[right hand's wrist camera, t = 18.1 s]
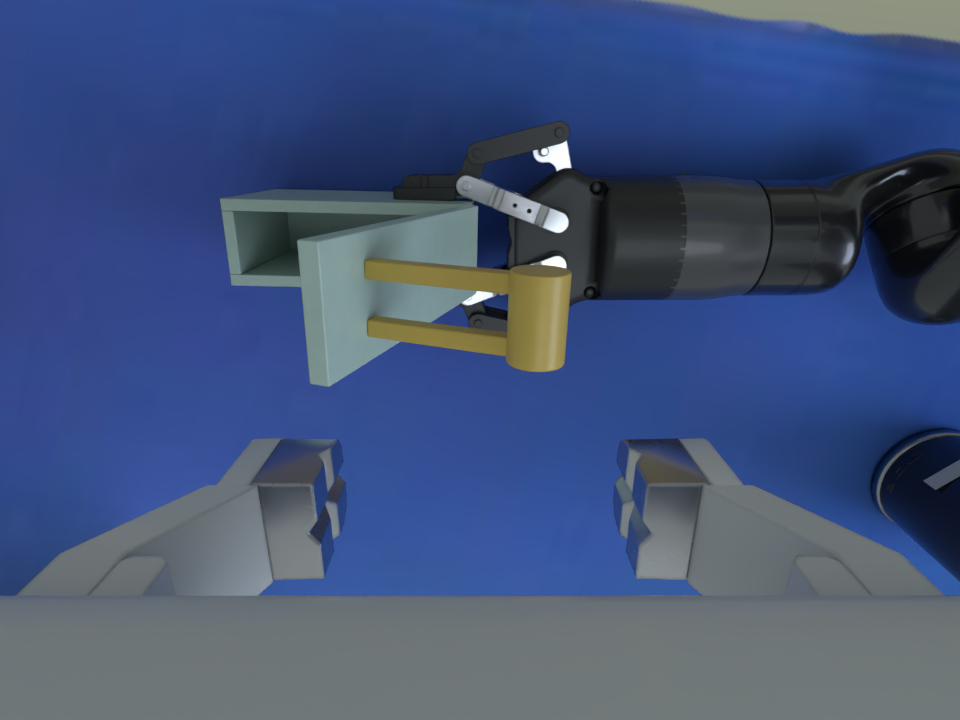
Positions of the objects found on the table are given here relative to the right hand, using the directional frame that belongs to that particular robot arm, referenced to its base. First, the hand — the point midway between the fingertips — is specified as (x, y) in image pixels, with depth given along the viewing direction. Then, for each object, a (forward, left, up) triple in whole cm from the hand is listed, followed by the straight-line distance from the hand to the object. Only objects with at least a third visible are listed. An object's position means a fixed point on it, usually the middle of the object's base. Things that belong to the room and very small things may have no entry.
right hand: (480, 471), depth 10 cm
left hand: (-5, +2, -26) cm, 27 cm away
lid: (-3, +1, -16) cm, 16 cm away
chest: (-7, +3, -33) cm, 33 cm away
